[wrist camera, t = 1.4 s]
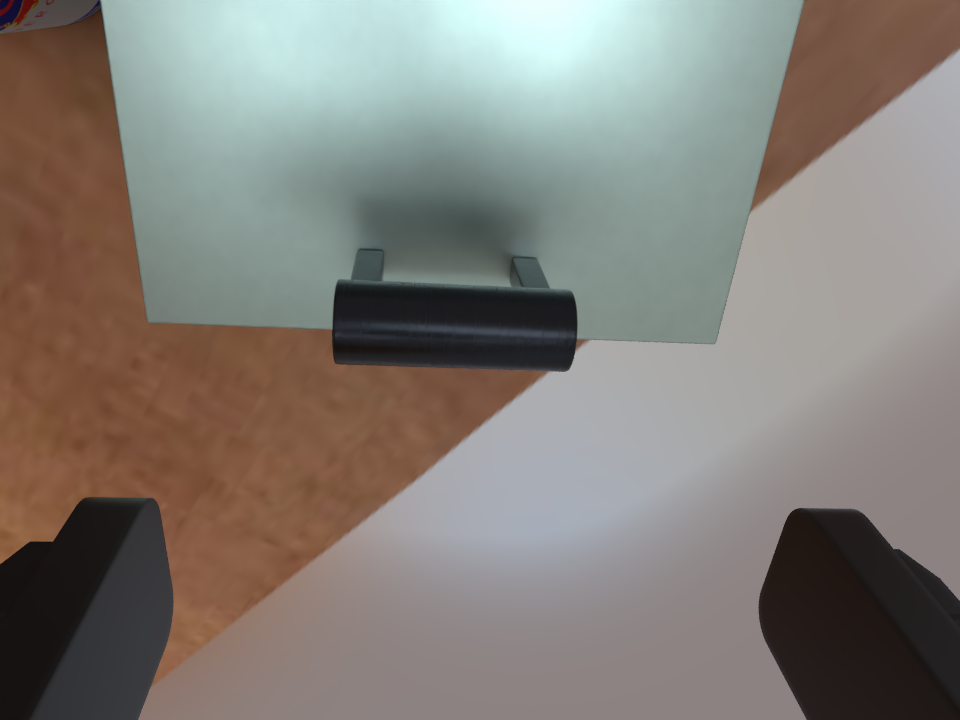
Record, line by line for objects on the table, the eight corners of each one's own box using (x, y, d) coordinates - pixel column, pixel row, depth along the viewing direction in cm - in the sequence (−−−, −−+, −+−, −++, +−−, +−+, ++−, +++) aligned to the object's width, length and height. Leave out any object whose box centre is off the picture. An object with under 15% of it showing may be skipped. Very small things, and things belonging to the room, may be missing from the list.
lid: (706, 333, 21) (790, 435, 16) (156, 311, 19) (72, 417, 15) (901, -446, 14) (1163, -677, 9) (28, -591, 12) (-229, -972, 7)
